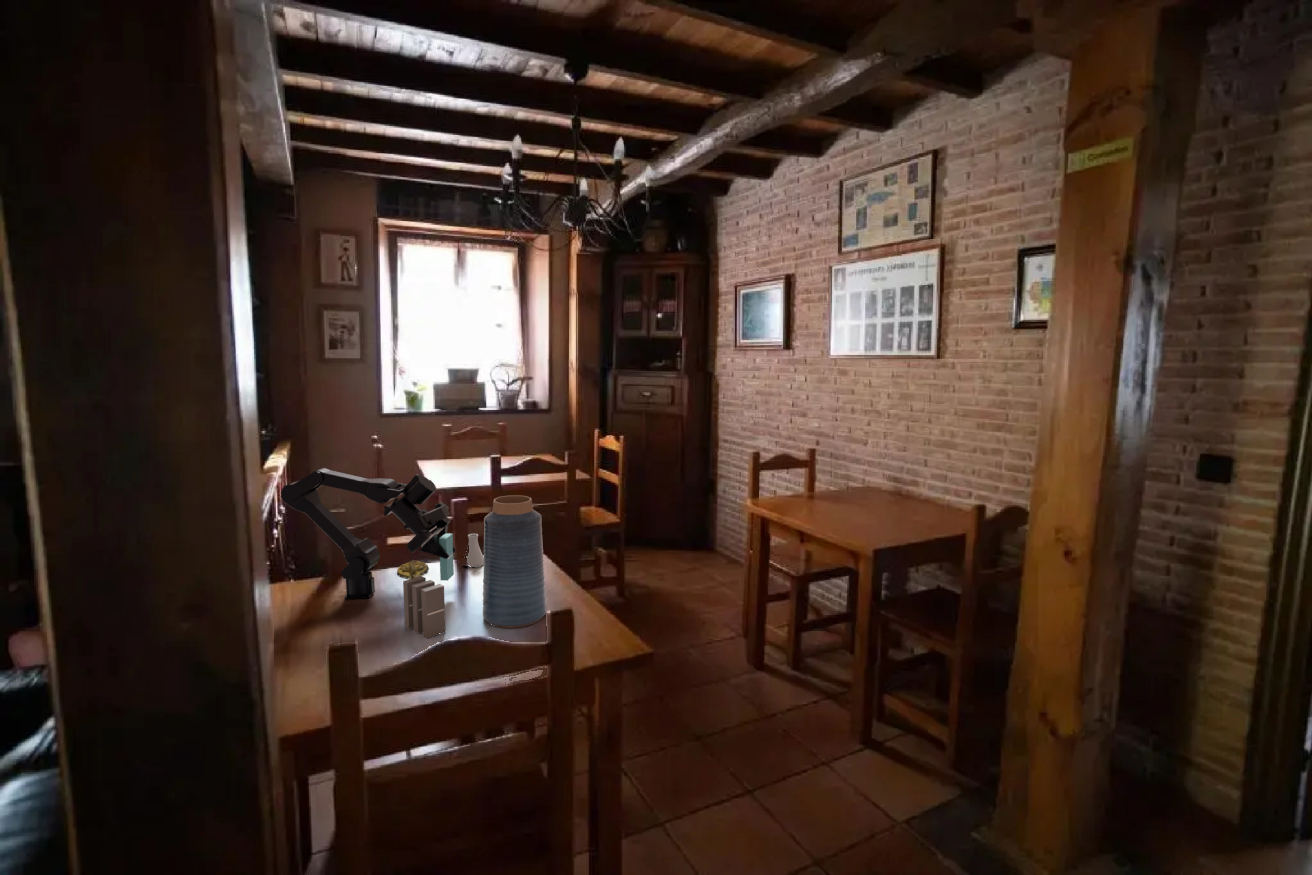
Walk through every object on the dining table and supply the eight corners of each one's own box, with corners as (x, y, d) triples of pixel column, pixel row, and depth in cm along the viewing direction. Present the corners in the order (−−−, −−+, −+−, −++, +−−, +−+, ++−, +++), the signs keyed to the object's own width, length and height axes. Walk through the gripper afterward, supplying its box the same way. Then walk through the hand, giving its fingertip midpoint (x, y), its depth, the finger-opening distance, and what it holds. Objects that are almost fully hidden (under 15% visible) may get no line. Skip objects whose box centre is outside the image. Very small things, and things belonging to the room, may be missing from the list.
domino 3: (422, 636, 160) (420, 589, 158) (441, 629, 164) (439, 583, 162) (427, 638, 159) (425, 591, 157) (445, 632, 162) (444, 585, 161)
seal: (397, 569, 212) (398, 584, 198) (394, 555, 211) (396, 569, 197) (427, 562, 215) (430, 577, 201) (425, 549, 214) (428, 562, 200)
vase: (479, 608, 177) (476, 494, 173) (539, 601, 183) (538, 490, 179) (486, 633, 162) (483, 509, 158) (551, 624, 168) (550, 504, 164)
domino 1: (404, 626, 165) (402, 581, 164) (423, 620, 169) (421, 575, 168) (409, 628, 164) (407, 583, 162) (427, 622, 168) (425, 577, 166)
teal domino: (440, 580, 182) (438, 538, 180) (446, 574, 187) (445, 533, 185) (447, 580, 182) (446, 538, 180) (454, 574, 187) (452, 533, 185)
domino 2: (413, 631, 163) (411, 585, 161) (431, 625, 166) (430, 579, 165) (418, 633, 161) (416, 587, 160) (436, 627, 165) (434, 581, 164)
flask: (489, 562, 215) (489, 533, 214) (476, 569, 208) (476, 539, 207) (471, 560, 217) (470, 530, 216) (457, 566, 211) (456, 536, 209)
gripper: (417, 503, 172) (459, 545, 173) (442, 488, 190) (481, 526, 191) (388, 532, 173) (431, 573, 174) (417, 514, 192) (455, 551, 193)
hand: (451, 554), depth 183 cm, fingers closed on teal domino, 5 cm apart
